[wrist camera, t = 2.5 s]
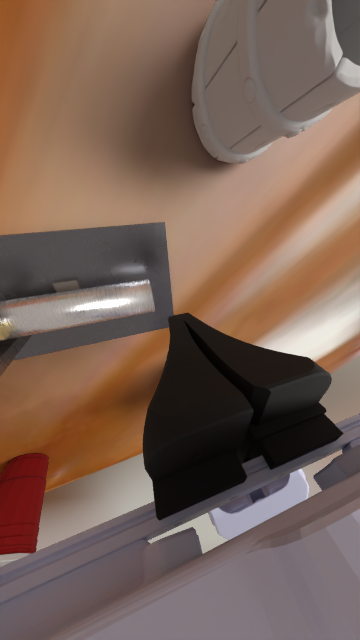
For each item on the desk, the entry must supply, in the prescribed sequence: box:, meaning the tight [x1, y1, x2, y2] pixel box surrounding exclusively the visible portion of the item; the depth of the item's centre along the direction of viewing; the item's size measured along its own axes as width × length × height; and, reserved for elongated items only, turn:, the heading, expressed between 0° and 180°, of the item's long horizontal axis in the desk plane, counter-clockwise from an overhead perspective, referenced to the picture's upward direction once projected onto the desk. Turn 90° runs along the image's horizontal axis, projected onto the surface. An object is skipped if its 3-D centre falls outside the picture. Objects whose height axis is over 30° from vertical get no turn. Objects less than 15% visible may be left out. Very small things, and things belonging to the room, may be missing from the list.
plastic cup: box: [0, 454, 49, 567], centre depth 24 cm, size 11×11×12 cm
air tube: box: [0, 279, 155, 341], centre depth 14 cm, size 20×3×4 cm, turn 94°
